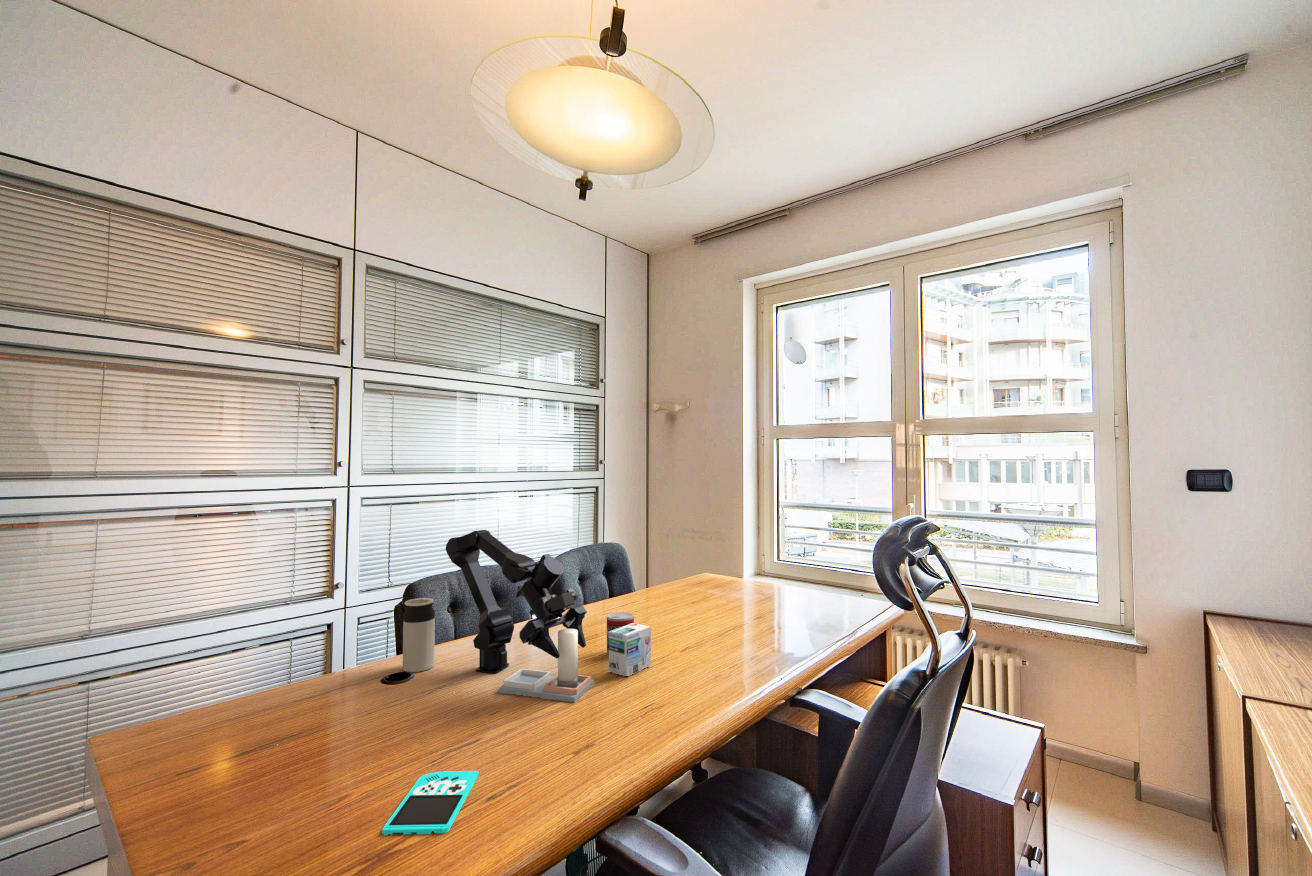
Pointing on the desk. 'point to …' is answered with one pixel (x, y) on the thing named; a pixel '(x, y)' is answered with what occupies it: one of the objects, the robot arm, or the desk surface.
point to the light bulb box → (629, 649)
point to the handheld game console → (432, 803)
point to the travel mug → (418, 635)
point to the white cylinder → (568, 658)
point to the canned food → (617, 622)
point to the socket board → (543, 685)
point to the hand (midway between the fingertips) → (571, 651)
